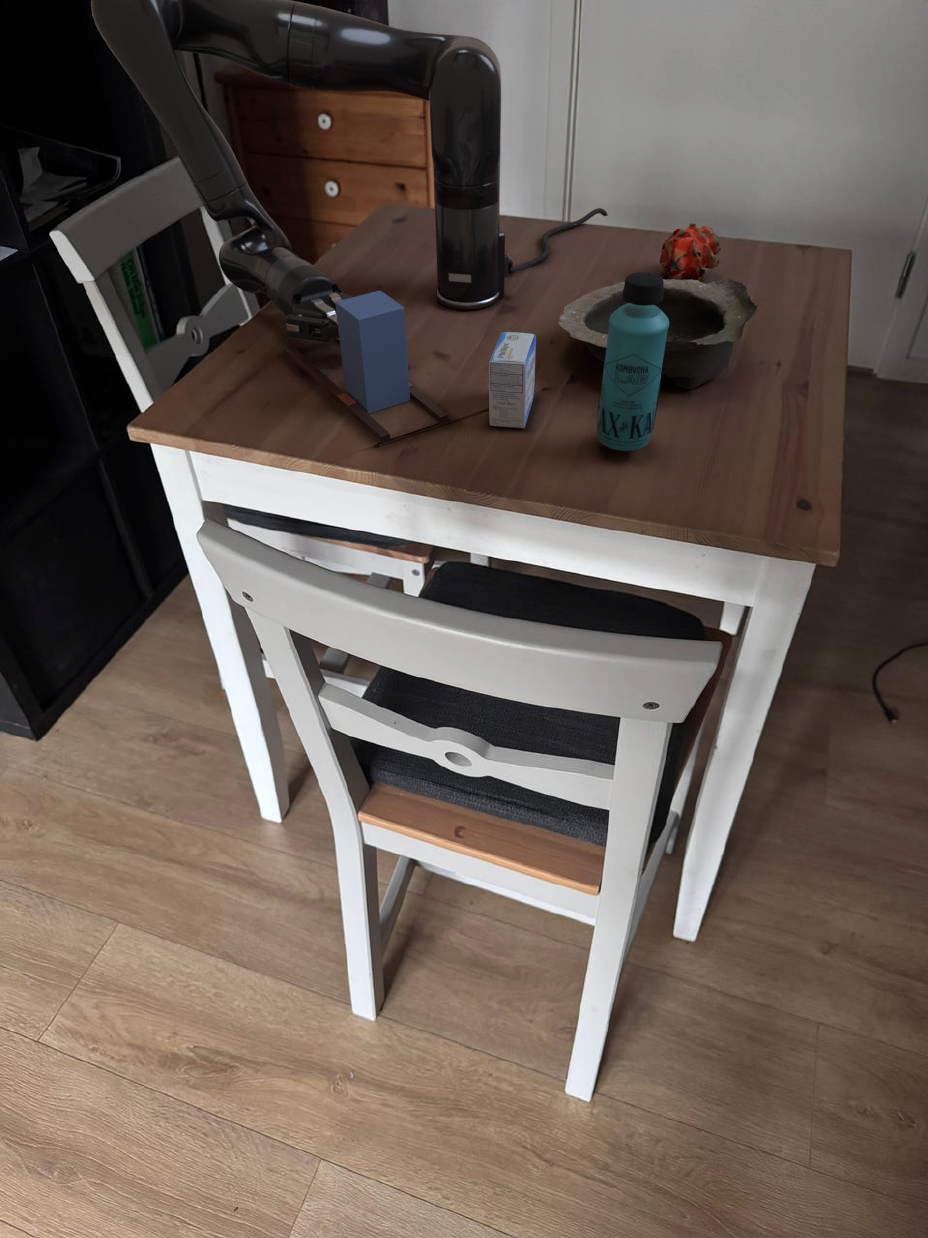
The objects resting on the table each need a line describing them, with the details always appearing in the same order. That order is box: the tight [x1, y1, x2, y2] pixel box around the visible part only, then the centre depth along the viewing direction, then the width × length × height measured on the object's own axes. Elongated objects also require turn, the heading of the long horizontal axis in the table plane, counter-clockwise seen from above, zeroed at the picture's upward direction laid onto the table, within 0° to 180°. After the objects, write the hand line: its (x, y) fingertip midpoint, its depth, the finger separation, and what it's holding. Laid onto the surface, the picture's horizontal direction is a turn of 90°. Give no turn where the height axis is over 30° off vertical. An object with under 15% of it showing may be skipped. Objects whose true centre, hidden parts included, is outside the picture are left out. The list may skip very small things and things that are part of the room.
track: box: [283, 344, 452, 448], centre depth 115 cm, size 10×28×1 cm, turn 32°
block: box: [335, 290, 411, 415], centre depth 108 cm, size 6×6×12 cm
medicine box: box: [488, 331, 537, 429], centre depth 107 cm, size 8×4×9 cm, turn 168°
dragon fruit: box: [659, 222, 722, 281], centre depth 138 cm, size 8×8×12 cm
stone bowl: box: [557, 278, 759, 390], centre depth 117 cm, size 25×25×9 cm
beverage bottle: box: [595, 271, 669, 452], centre depth 97 cm, size 6×7×20 cm
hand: (361, 340), depth 110 cm, fingers closed
